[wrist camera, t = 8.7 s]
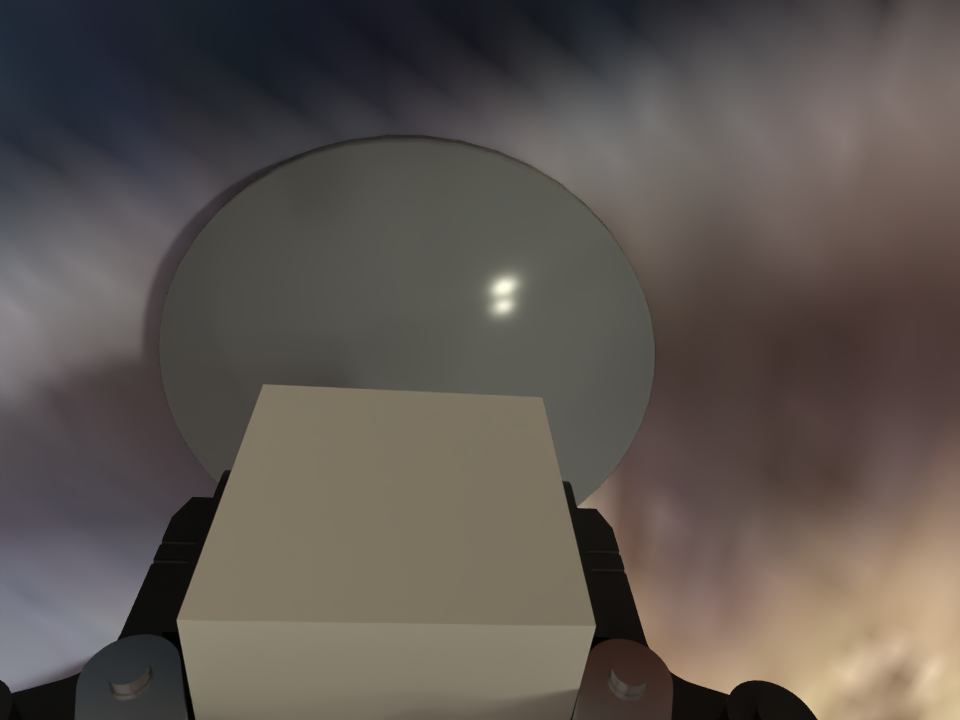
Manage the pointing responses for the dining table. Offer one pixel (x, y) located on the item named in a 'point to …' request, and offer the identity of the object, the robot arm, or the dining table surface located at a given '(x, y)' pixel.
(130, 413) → the dining table surface
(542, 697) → the cube
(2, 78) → the dining table surface
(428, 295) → the disc
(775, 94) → the dining table surface
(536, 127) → the dining table surface
